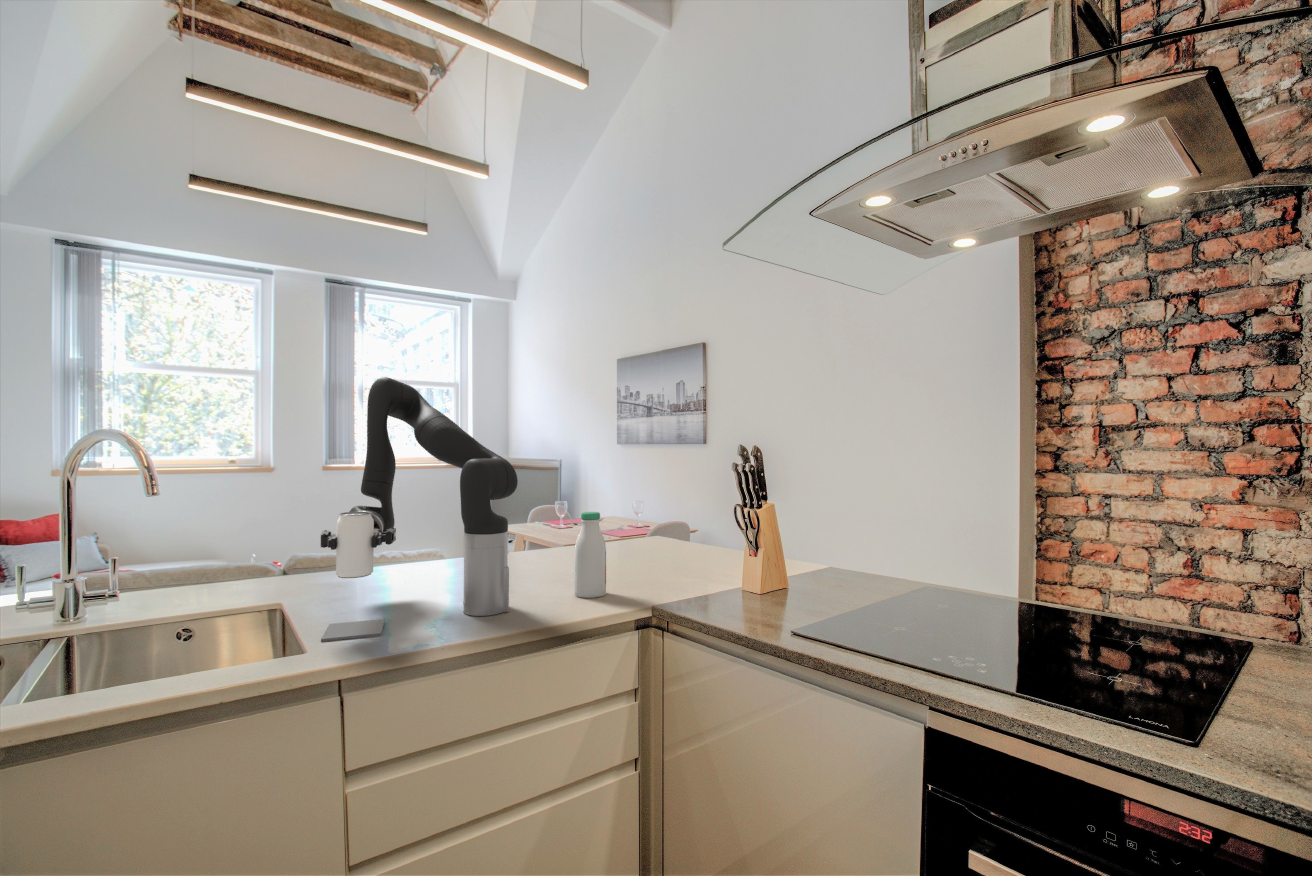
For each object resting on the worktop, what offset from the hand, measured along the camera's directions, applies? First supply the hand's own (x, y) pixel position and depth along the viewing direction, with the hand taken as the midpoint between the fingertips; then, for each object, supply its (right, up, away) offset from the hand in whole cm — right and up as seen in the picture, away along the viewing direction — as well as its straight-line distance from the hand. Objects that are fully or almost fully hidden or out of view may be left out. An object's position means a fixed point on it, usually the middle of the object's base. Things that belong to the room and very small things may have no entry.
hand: (353, 543), depth 113 cm
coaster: (-1, -17, +2) cm, 17 cm away
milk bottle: (+42, -18, +31) cm, 55 cm away
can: (-1, -7, +2) cm, 7 cm away
